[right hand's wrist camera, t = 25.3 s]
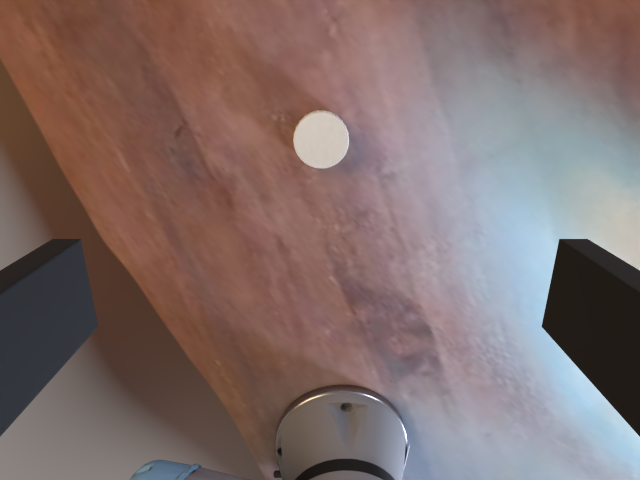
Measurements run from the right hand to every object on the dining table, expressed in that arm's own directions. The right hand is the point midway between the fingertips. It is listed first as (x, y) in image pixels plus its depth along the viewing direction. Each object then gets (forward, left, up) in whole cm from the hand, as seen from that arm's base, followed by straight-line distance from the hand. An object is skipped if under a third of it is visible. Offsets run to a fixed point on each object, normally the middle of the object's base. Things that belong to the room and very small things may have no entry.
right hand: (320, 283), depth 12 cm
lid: (0, 0, -28) cm, 28 cm away
